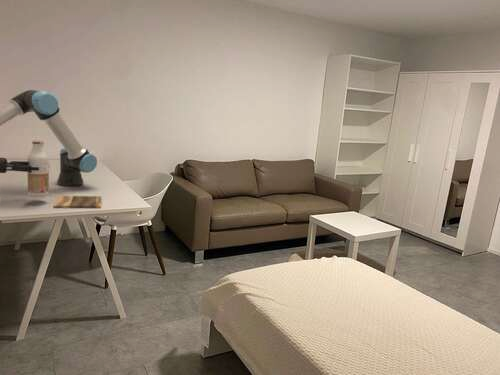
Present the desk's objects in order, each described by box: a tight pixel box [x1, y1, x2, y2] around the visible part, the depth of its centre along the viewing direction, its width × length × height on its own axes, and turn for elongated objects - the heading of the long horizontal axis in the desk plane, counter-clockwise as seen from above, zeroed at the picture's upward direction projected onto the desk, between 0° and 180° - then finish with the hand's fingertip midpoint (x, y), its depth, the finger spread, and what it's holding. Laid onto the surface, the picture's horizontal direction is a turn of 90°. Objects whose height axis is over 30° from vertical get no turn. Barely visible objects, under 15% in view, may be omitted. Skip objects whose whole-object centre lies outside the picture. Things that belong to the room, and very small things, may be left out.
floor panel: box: [53, 195, 102, 209], centre depth 202 cm, size 22×20×1 cm
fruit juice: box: [27, 140, 50, 198], centre depth 192 cm, size 9×9×28 cm
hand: (48, 167), depth 193 cm, fingers closed on fruit juice, 9 cm apart
